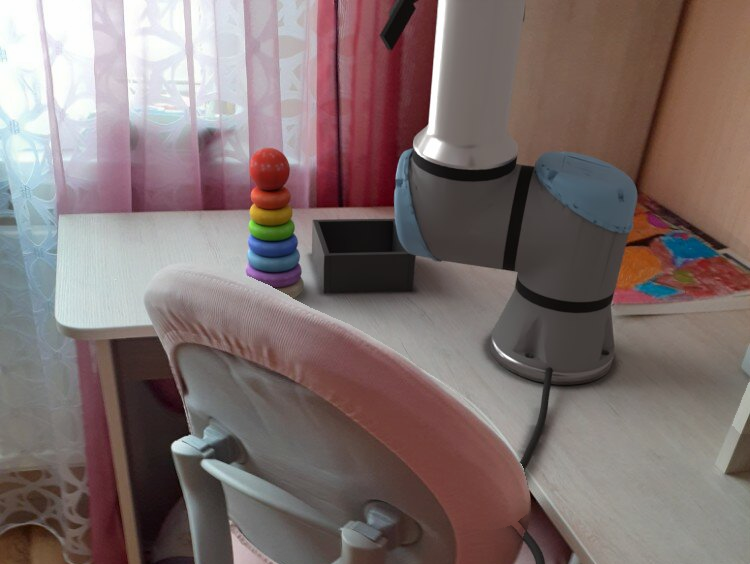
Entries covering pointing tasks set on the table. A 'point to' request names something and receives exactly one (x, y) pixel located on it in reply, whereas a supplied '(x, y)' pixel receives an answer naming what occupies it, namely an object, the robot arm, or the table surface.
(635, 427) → the table surface
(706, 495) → the table surface
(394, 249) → the box
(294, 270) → the stacking toy
